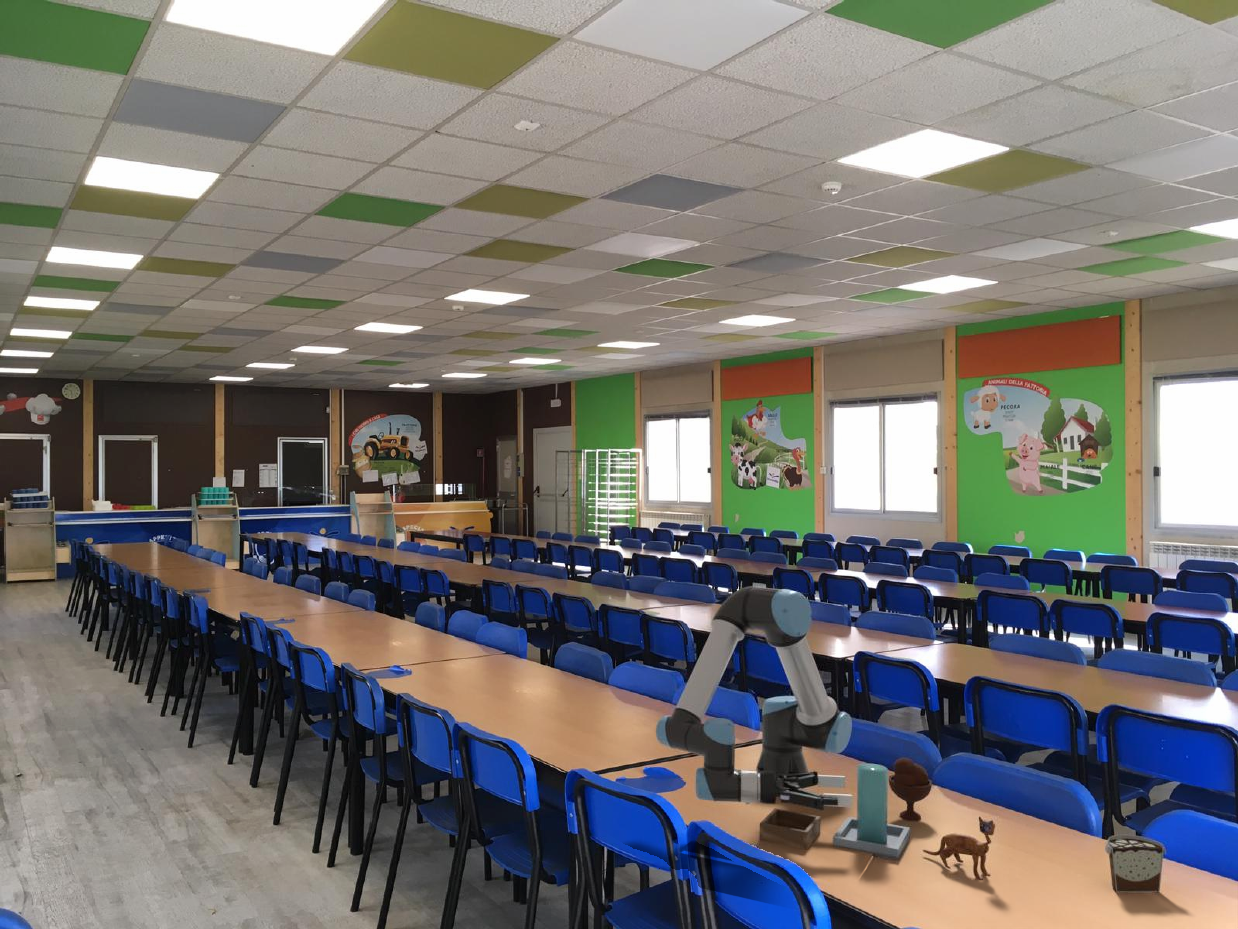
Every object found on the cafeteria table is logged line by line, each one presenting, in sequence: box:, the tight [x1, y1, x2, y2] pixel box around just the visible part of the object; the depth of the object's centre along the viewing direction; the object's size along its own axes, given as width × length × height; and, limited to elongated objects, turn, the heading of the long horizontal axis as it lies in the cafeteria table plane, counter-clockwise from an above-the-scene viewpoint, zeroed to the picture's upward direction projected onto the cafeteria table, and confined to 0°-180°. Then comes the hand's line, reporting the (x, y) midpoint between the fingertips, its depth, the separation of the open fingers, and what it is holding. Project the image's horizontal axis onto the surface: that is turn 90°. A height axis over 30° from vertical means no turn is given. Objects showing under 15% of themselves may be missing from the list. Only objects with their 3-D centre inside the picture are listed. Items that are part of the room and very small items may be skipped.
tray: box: [832, 816, 911, 861], centre depth 219 cm, size 15×15×2 cm
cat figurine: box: [922, 816, 996, 881], centre depth 205 cm, size 18×6×13 cm, turn 40°
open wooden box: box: [759, 808, 821, 850], centre depth 221 cm, size 12×12×4 cm
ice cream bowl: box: [888, 757, 933, 822], centre depth 236 cm, size 11×11×15 cm
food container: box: [1104, 834, 1167, 894], centre depth 196 cm, size 12×6×10 cm, turn 92°
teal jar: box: [856, 763, 889, 844], centre depth 219 cm, size 7×7×17 cm
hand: (848, 791), depth 219 cm, fingers open, 13 cm apart
